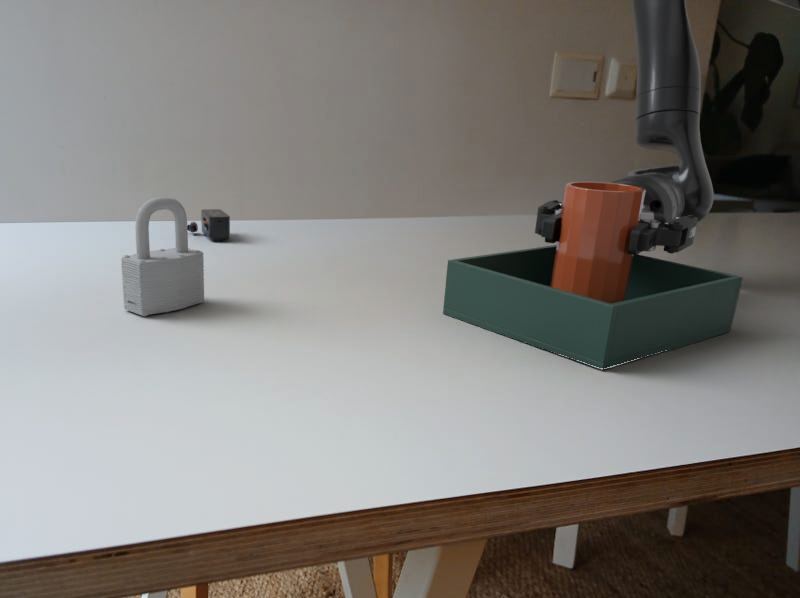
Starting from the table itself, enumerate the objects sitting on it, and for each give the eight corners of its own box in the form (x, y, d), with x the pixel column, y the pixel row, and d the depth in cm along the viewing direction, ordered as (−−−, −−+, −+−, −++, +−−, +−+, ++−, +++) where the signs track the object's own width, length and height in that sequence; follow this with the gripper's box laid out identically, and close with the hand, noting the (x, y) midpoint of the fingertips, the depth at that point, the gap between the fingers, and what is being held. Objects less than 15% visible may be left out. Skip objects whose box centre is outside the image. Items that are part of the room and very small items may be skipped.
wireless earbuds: (219, 231, 103) (219, 208, 102) (230, 241, 97) (230, 216, 96) (186, 232, 102) (185, 208, 101) (195, 242, 96) (195, 217, 95)
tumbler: (578, 285, 71) (595, 180, 68) (638, 302, 67) (660, 189, 63) (535, 294, 68) (551, 183, 64) (595, 312, 63) (615, 193, 60)
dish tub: (571, 288, 80) (578, 241, 78) (730, 331, 67) (743, 276, 65) (442, 313, 69) (447, 260, 67) (602, 371, 56) (613, 306, 54)
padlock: (182, 295, 72) (179, 191, 68) (209, 304, 69) (207, 196, 66) (119, 309, 67) (112, 197, 63) (146, 319, 64) (140, 203, 61)
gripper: (569, 169, 79) (515, 183, 66) (718, 183, 71) (691, 202, 58) (559, 239, 81) (504, 266, 68) (701, 259, 74) (671, 293, 61)
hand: (590, 236), depth 63 cm, fingers closed on tumbler, 6 cm apart
